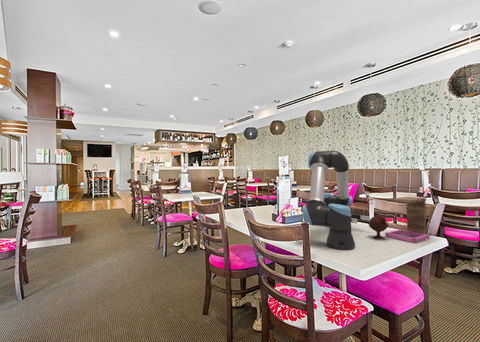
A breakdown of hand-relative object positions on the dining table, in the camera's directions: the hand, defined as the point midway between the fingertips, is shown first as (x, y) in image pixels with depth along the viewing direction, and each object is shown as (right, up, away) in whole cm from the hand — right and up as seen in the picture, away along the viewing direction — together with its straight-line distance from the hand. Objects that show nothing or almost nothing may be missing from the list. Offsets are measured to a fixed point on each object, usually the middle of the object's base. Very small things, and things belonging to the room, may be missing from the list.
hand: (363, 220), depth 160 cm
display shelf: (+25, -9, -9) cm, 28 cm away
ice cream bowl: (+5, -10, -9) cm, 14 cm away
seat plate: (+22, -9, -10) cm, 26 cm away
